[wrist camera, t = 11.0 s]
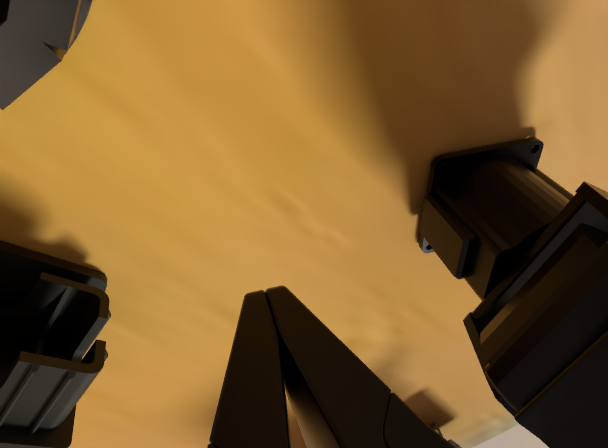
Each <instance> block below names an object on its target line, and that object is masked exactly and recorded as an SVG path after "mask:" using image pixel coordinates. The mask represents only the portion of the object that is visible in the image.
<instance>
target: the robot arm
mask: <svg viewBox="0 0 608 448" xmlns="http://www.w3.org/2000/svg"><path fill="white" fill-rule="evenodd" d="M533 146H534V147H533ZM532 147H533V148H532ZM542 149H543V142H542V141H540V140H539V139H537V138H528V139H522V140H517V141H512V142H506V143H501V144H496V145H490V146H485V147H480V148H475V149H469V150H464V151H459V152H453V153H448V154H443V155H439V156H437V157H436V158H434V160H433V161H432V163H431V168H430V175H429V181H428V188H427V194H426V196H425V198H424V205H423V211H422V218H421V225H420V233H421V235H420V241H419V247H420V248H421V250H422V251H423V252H424V253H431V252H436V254H437V255H438V256H439V258H440V259H441V260H442V261H443V263H444V264H445V265H446V267H447V268H448V269H449V271H450V272H451V273H452V274H453V276H454V277H456V278H457V279H463V278H464V279H465V280H466V281H467V283H468V284H469V285H470V286H471V288H472V289H473V290H474V291H475V293H476V294H477V295H478V296H479V298H480V299H481V300H482V302H481V303H480V304H479V305H478V306H477V308H476V309H475V310H474V311H473V312H470V313H469V314H468V315H467V316H466V317H465V319H464V320H463V322H464V325H465V327H466V330H467V332H468V335H469V337H470V340H471V342H472V345H473V347H474V350H475V352H476V354H477V357H478V359H479V362H480V364H481V367H482V369H483V372H484V374H485V377H486V379H487V382H488V384H489V386H490V388H491V390H492V392H493V394H494V396H495V398H496V399H497V400H498V401H499V402H500V403H501V404H502V405H503V406H504V407H505V408H506V409H507V410H508V411H509V412H510V413H511V414H512V415H513V416H514V418H515V420H516V421H517V422H518V423H519V424H520V425H522V426H523V427H525V428H526V429H527V430H529V431H530V432H531V433H533V434H534V435H536V436H537V437H538V438H540V439H541V440H542V441H543V442H544V443H545V444H546V445H547V446H548V447H549V448H608V192H606V191H604V190H602V189H600V188H598V187H596V186H593V185H591V184H589V183H587V182H585V181H584V182H583V183H582V184H581V185H580V187H579V188H578V189H577V190H576V192H577V193H576V194H575V196H573V195H572V194H571V193H569V192H568V191H567V190H565V189H564V188H563V187H561V186H560V185H558V184H557V183H556V182H554V181H553V180H552V179H550V178H549V177H548V176H546V175H545V174H544V173H542V172H541V171H540V170H538V169H537V165H538V162H539V159H540V156H541V152H542ZM442 163H444V164H443V165H442V166H441V167H439V166H440V165H441V164H442ZM428 244H429V245H428ZM285 389H286V393H287V396H288V399H289V401H290V404H291V407H292V410H293V412H294V415H295V418H296V420H297V423H298V426H299V428H300V431H301V434H302V436H303V439H304V442H305V444H306V447H307V448H455V447H454V446H453V445H452V444H450V443H449V442H448V441H447V440H446V439H444V438H443V437H442V436H441V435H440V434H438V433H437V432H436V431H435V430H433V429H432V428H431V427H430V426H429V425H428V424H427V423H425V422H424V421H423V420H422V419H421V418H420V417H419V416H418V415H417V414H416V413H415V412H414V411H412V410H411V409H410V408H409V407H408V406H407V405H406V404H405V403H404V402H403V401H402V400H401V399H400V398H399V397H398V396H397V395H396V394H395V393H391V390H390V388H388V387H387V386H386V385H385V384H384V383H383V382H382V381H381V380H380V379H379V378H378V377H377V376H376V375H375V374H374V373H373V372H372V371H371V370H370V369H369V368H368V367H367V366H366V365H365V364H364V363H363V362H362V361H361V360H360V359H359V358H358V357H357V356H356V355H355V354H354V353H353V352H352V351H351V350H350V349H349V348H348V347H347V346H346V345H345V344H344V343H343V342H342V341H341V340H339V339H338V338H337V337H336V336H335V335H334V334H333V333H332V332H331V331H330V330H329V329H328V328H327V327H326V326H325V325H324V324H323V323H322V322H321V321H320V320H319V319H318V318H317V317H316V316H315V315H314V314H313V313H312V312H311V311H310V310H309V309H308V308H307V307H306V306H305V305H304V304H303V303H302V302H301V301H300V300H299V299H298V298H297V297H296V296H295V295H294V294H293V293H292V292H290V291H289V290H288V289H287V288H286V287H285V286H277V287H273V288H268V289H267V290H266V291H265V292H264V291H263V290H259V291H255V292H250V293H247V294H246V295H245V296H244V300H243V304H242V308H241V312H240V316H239V320H238V324H237V329H236V333H235V337H234V341H233V345H232V349H231V353H230V357H229V361H228V366H227V370H226V374H225V378H224V382H223V386H222V390H221V394H220V398H219V403H218V407H217V411H216V415H215V419H214V423H213V427H212V431H211V436H210V440H209V441H210V444H208V447H207V448H291V440H290V430H289V421H288V412H287V403H286V394H285Z"/></svg>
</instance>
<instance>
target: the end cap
mask: <svg viewBox="0 0 608 448" xmlns="http://www.w3.org/2000/svg"><path fill="white" fill-rule="evenodd" d="M106 286H107V278H106V276H105V274H103V273H101V272H100V271H97V270H93V269H90V268H87V267H84V266H81V265H77V264H74V263H71V262H68V261H65V260H61V259H58V258H55V257H52V256H48V255H45V254H42V253H39V252H36V251H32V250H29V249H26V248H23V247H20V246H16V245H13V244H10V243H7V242H4V241H0V448H68V447H69V446H70V444H71V441H72V433H73V425H74V418H75V410H76V403H77V402H78V401H79V399H80V398H81V396H82V395H83V394H84V392H85V391H86V390H87V388H88V387H89V386H90V384H91V383H92V381H93V380H94V379H95V377H96V376H97V375H98V373H99V372H100V371H101V369H102V368H103V366H104V361H105V360H106V358H107V357H108V353H107V351H106V349H105V347H106V342H105V341H101V340H97V339H96V341H95V342H94V344H93V345H92V347H91V348H90V349H89V351H88V352H87V354H86V355H85V357H84V358H83V359H82V357H83V355H84V354H85V352H86V351H87V350H88V348H89V347H90V345H91V344H92V342H93V341H94V340H95V338H96V337H97V335H98V334H99V332H100V331H101V330H102V328H103V327H104V325H105V324H106V322H107V321H108V320H109V318H110V317H111V313H110V311H109V297H108V295H107V294H106V293H105V290H106Z"/></svg>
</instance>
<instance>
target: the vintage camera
mask: <svg viewBox="0 0 608 448" xmlns="http://www.w3.org/2000/svg"><path fill="white" fill-rule="evenodd" d="M434 423H435V422H434ZM435 425H436V428H437V430H438V433H439V434H440V435H441V436H442V434H441V431H440V429H439V427H438V425H437V424H436V423H435ZM442 437H443V436H442ZM448 442H449V443H450V444H452V445H453V446H454V447H455V448H461V447H460V446H459V445H458V444H456V443H455V442H454V441H452V440H449V441H448Z"/></svg>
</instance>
